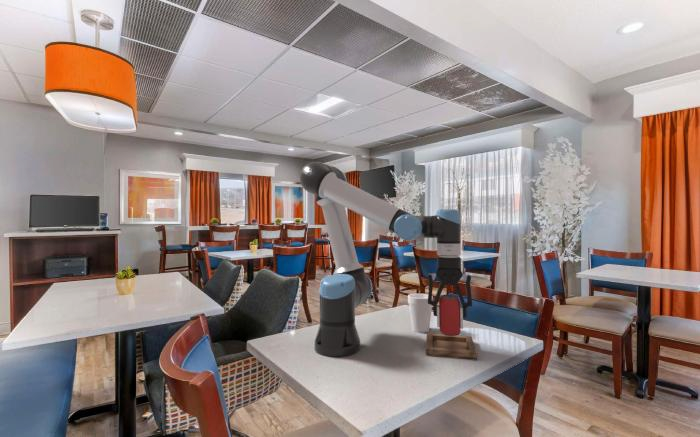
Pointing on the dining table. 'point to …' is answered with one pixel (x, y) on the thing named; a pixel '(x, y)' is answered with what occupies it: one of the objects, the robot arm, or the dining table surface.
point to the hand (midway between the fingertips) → (449, 326)
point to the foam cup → (420, 312)
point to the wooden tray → (450, 346)
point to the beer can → (449, 315)
